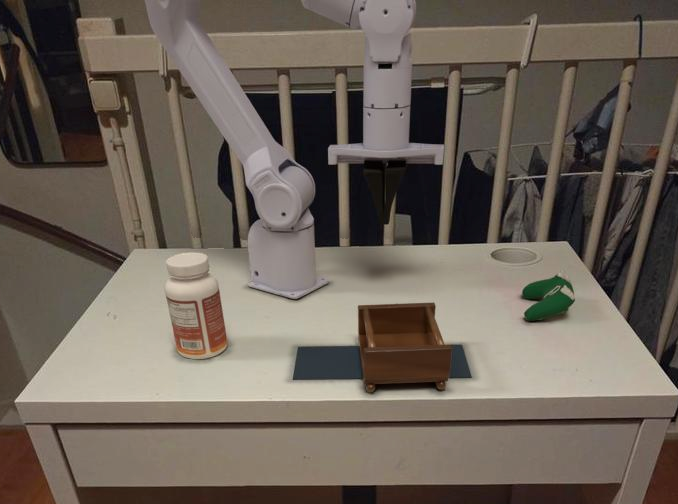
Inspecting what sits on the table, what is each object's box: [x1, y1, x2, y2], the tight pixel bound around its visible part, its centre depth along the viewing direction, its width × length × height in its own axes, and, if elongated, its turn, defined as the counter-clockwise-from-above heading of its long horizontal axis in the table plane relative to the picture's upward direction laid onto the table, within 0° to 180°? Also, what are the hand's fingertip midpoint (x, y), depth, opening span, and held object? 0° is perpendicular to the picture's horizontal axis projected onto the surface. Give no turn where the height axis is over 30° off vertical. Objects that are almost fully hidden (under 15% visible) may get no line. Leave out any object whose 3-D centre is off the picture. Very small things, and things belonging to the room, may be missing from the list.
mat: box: [292, 343, 473, 381], centre depth 72 cm, size 20×8×1 cm, turn 88°
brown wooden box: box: [357, 302, 452, 393], centre depth 70 cm, size 12×9×5 cm
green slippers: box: [521, 269, 576, 322], centre depth 81 cm, size 9×4×6 cm
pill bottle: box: [164, 251, 228, 360], centre depth 73 cm, size 6×6×11 cm
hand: (384, 222), depth 84 cm, fingers closed
